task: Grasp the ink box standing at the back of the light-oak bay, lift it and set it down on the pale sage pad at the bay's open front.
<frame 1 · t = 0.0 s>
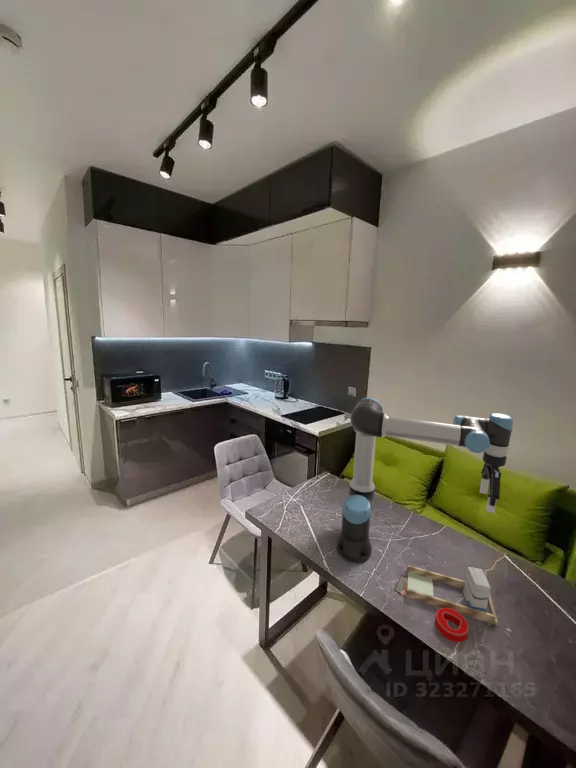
hand: (486, 501, 127), 28 cm above the table, fingers open, 13 cm apart
ink box: (473, 603, 114), resting in bay
chocolate bar: (402, 587, 121), on the table
front pad: (420, 587, 121), on the table
decorative ornament: (450, 628, 106), on the table
bay: (446, 595, 117), on the table
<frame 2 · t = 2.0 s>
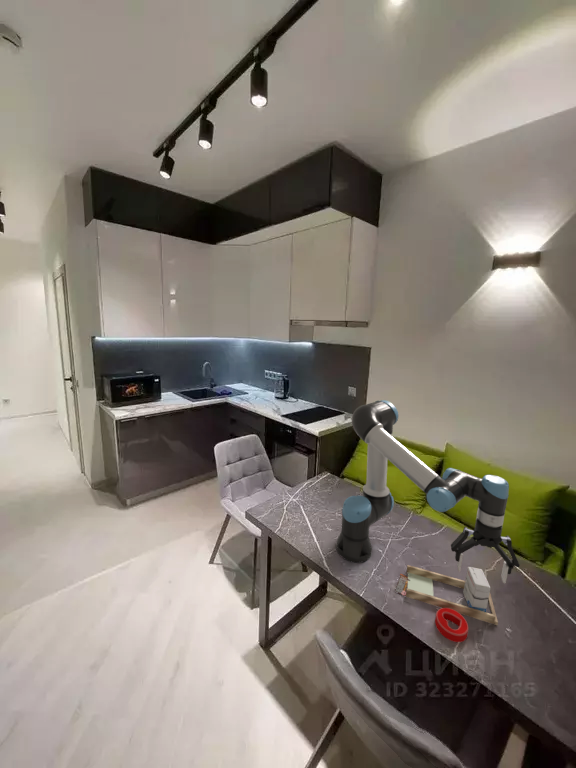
hand: (480, 574, 111), 13 cm above the table, fingers open, 13 cm apart
nothing on the table moved.
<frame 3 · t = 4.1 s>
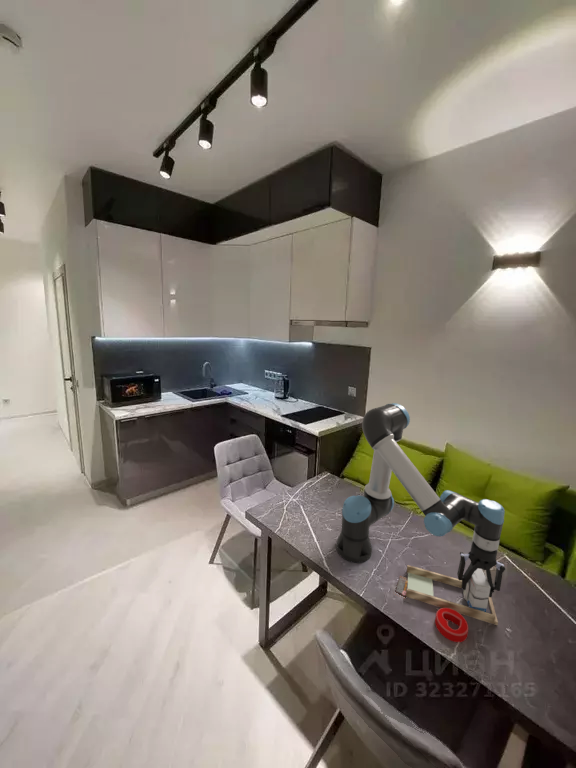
hand: (474, 599, 114), 2 cm above the table, fingers closed on ink box, 5 cm apart
ink box: (473, 603, 114), resting in bay, touching gripper
everything else where it was.
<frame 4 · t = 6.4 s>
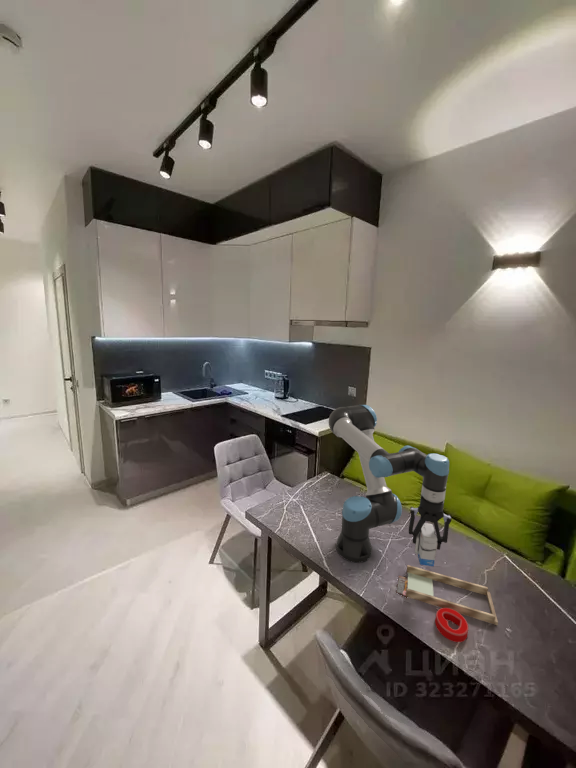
hand: (424, 552, 117), 15 cm above the table, fingers closed on ink box, 5 cm apart
ink box: (424, 557, 117), point 13 cm above the table, touching gripper
everything else where it was.
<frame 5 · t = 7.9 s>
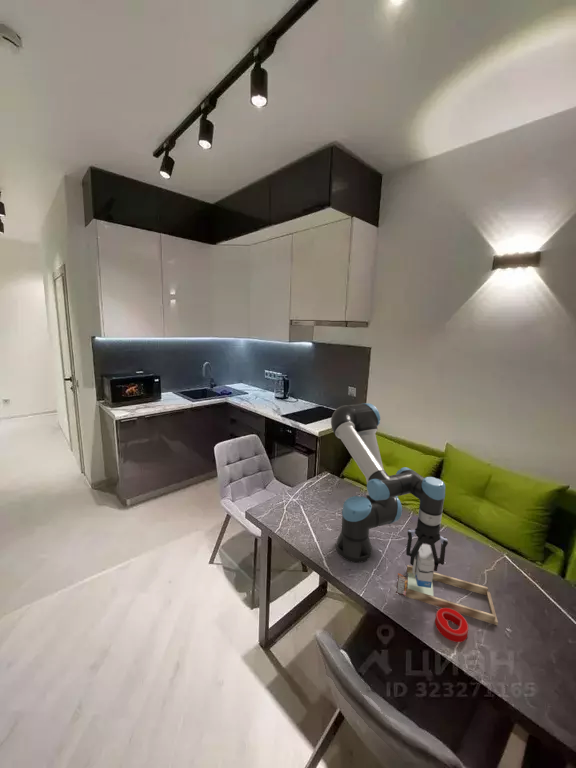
hand: (422, 573, 119), 6 cm above the table, fingers closed on ink box, 5 cm apart
ink box: (421, 578, 119), point 4 cm above the table, touching gripper
everything else where it was.
when the fingers open (4 cm above the table, at t = 9.1 s): ink box drops 2 cm, resting on front pad.
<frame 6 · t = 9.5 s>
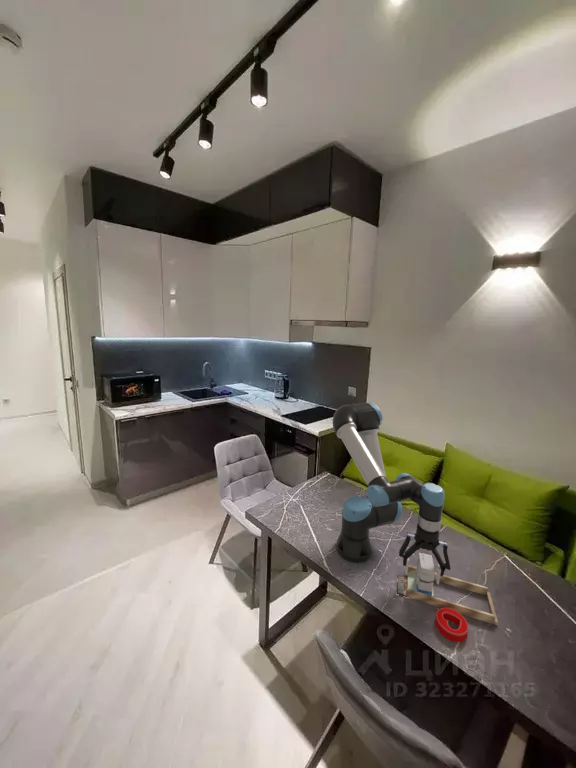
hand: (421, 576, 120), 5 cm above the table, fingers open, 10 cm apart
ink box: (422, 587, 120), resting on front pad
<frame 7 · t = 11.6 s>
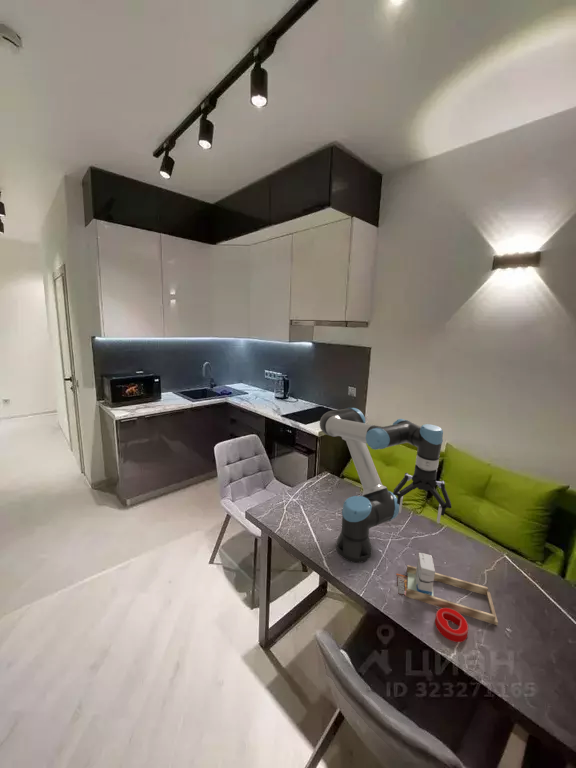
hand: (418, 516, 122), 26 cm above the table, fingers open, 13 cm apart
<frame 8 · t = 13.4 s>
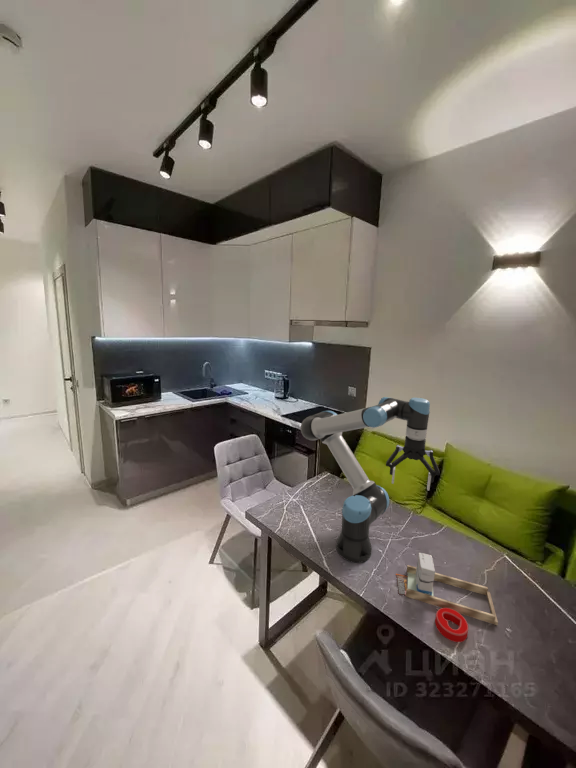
hand: (410, 485, 130), 33 cm above the table, fingers open, 13 cm apart
at the end: ink box inside the target area (1.0 cm from its centre), resting on front pad; ink box tilted 0°; the gripper is holding nothing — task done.
